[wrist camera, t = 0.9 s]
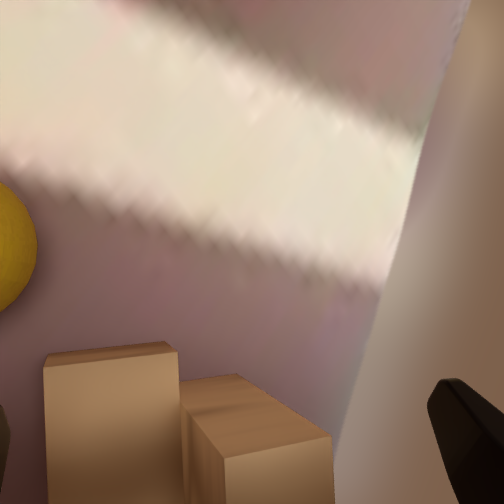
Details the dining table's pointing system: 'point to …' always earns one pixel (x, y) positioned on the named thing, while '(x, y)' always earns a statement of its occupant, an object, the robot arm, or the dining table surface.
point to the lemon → (15, 246)
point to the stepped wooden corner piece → (173, 435)
